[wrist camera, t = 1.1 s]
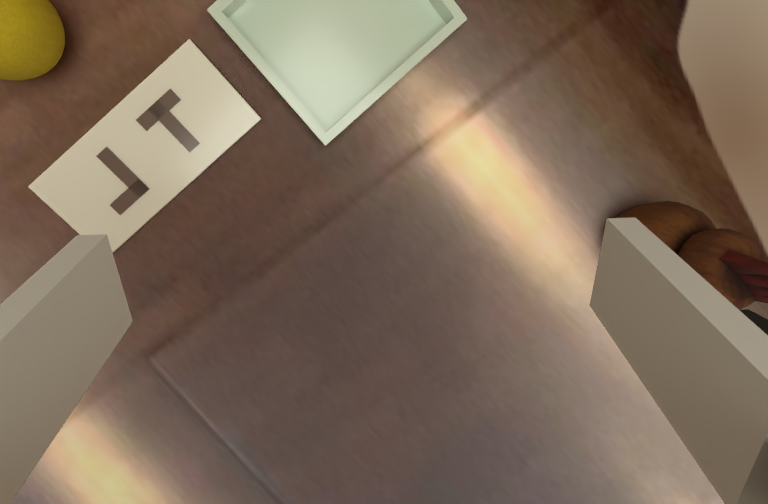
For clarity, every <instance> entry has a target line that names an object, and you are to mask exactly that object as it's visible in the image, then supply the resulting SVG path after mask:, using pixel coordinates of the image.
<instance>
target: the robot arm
mask: <svg viewBox="0 0 768 504" xmlns="http://www.w3.org/2000/svg"><path fill="white" fill-rule="evenodd" d="M590 306H591V308H592V309H593V311H594V312H595V314H596V315H597V317H598V318H599V320H600V321H601V323H602V324H603V326H604V327H605V328H606V330H607V331H608V333H609V334H610V336H611V337H612V339H613V340H614V342H615V343H616V345H617V346H618V348H619V349H620V350H621V352H622V353H623V355H624V356H625V358H626V359H627V361H628V362H629V364H630V365H631V367H632V368H633V370H634V371H635V372H636V374H637V375H638V377H639V378H640V380H641V381H642V383H643V384H644V386H645V387H646V389H647V390H648V391H649V393H650V394H651V396H652V397H653V399H654V400H655V402H656V403H657V405H658V406H659V408H660V409H661V411H662V412H663V413H664V415H665V416H666V418H667V419H668V421H669V422H670V424H671V425H672V427H673V428H674V430H675V431H676V433H677V434H678V435H679V437H680V438H681V440H682V441H683V443H684V444H685V446H686V447H687V449H688V450H689V452H690V453H691V455H692V456H693V457H694V459H695V460H696V462H697V463H698V465H699V466H700V468H701V469H702V471H703V472H704V474H705V475H706V476H707V478H708V479H709V481H710V482H711V484H712V485H713V487H714V488H715V490H716V491H717V493H718V494H719V496H720V497H721V498H722V500H723V501H724V503H725V504H768V320H767V319H765V318H764V317H762V316H760V315H758V314H756V313H754V312H752V311H750V310H739V309H737V308H736V307H735V306H734V305H733V304H732V303H731V302H730V301H728V300H727V299H726V298H725V297H724V296H723V295H722V294H721V293H719V292H718V291H717V290H716V289H715V288H714V287H713V286H712V285H711V284H709V283H708V282H707V281H706V280H705V279H704V278H703V277H702V276H700V275H699V274H698V273H697V272H696V271H695V270H694V269H693V268H691V267H690V266H689V265H688V264H687V263H686V262H685V261H684V260H682V259H681V258H680V257H679V256H678V255H677V254H676V253H675V252H674V251H672V250H671V249H670V248H669V247H668V246H667V245H666V244H665V243H663V242H662V241H661V240H660V239H659V238H658V237H657V236H656V235H654V234H653V233H652V232H651V231H650V230H649V229H648V228H647V227H646V226H644V225H643V224H642V223H641V222H640V221H639V220H638V219H637V218H635V217H633V218H607V220H606V225H605V230H604V235H603V240H602V245H601V250H600V255H599V261H598V266H597V271H596V276H595V281H594V286H593V291H592V296H591V301H590ZM132 322H133V320H132V317H131V314H130V310H129V307H128V304H127V300H126V297H125V294H124V290H123V287H122V283H121V280H120V277H119V273H118V270H117V267H116V263H115V260H114V257H113V253H112V250H111V246H110V243H109V240H108V236H107V234H101V235H77V236H76V237H75V238H74V239H72V240H71V241H70V242H69V243H68V244H67V245H66V246H65V247H64V248H62V249H61V250H60V251H59V252H58V253H57V254H56V255H55V256H54V257H52V258H51V259H50V260H49V261H48V262H47V263H46V264H45V265H44V266H42V267H41V268H40V269H39V270H38V271H37V272H36V273H35V274H33V275H32V276H31V277H30V278H29V279H28V280H27V281H26V282H25V283H23V284H22V285H21V286H20V287H19V288H18V289H17V290H16V291H15V292H13V293H12V294H11V295H10V296H9V297H8V298H7V299H6V300H5V301H3V302H2V303H1V304H0V504H10V503H11V501H12V500H13V498H14V497H15V496H16V494H17V493H18V491H19V490H20V488H21V487H22V485H23V484H24V482H25V481H26V479H27V478H28V476H29V475H30V473H31V472H32V470H33V469H34V467H35V466H36V464H37V463H38V461H39V460H40V458H41V457H42V455H43V454H44V452H45V451H46V449H47V448H48V447H49V445H50V444H51V442H52V441H53V439H54V438H55V436H56V435H57V433H58V432H59V430H60V429H61V427H62V426H63V424H64V423H65V421H66V420H67V418H68V417H69V415H70V414H71V412H72V411H73V409H74V408H75V406H76V405H77V403H78V402H79V401H80V399H81V398H82V396H83V395H84V393H85V392H86V390H87V389H88V387H89V386H90V384H91V383H92V381H93V380H94V378H95V377H96V375H97V374H98V372H99V371H100V369H101V368H102V366H103V365H104V363H105V362H106V360H107V359H108V357H109V356H110V354H111V353H112V352H113V350H114V349H115V347H116V346H117V344H118V343H119V341H120V340H121V338H122V337H123V335H124V334H125V332H126V331H127V329H128V328H129V326H130V325H131V323H132Z"/></svg>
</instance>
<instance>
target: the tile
mask: <svg viewBox="0 0 768 504" xmlns="http://www.w3.org/2000/svg"><path fill="white" fill-rule="evenodd" d="M260 120H261V118H260V116H259V115H258V114H257V113H256V112H255V111H254V110H253V109H252V108H251V106H250V105H249V104H248V103H247V102H246V101H245V100H244V99H243V97H242V96H241V95H240V94H239V93H238V92H237V91H236V90H235V89H234V87H233V86H232V85H231V84H230V83H229V82H228V81H227V80H226V79H225V77H224V76H223V75H222V74H221V73H220V72H219V71H218V70H217V68H216V67H215V66H214V65H213V64H212V63H211V62H210V61H209V60H208V58H207V57H206V56H205V55H204V54H203V53H202V52H201V51H200V50H199V48H198V47H197V46H196V45H195V44H194V43H193V42H192V41H191V40H190V39H189V40H187V41H186V42H185V43H184V44H183V45H182V46H181V47H180V48H179V49H178V50H177V51H175V52H174V53H173V54H172V55H171V56H170V57H169V58H168V59H167V60H166V61H165V62H163V63H162V64H161V65H160V66H159V67H158V68H157V69H156V70H155V71H154V72H153V73H151V74H150V75H149V76H148V77H147V78H146V79H145V80H144V81H143V82H142V83H141V84H139V85H138V86H137V87H136V88H135V89H134V90H133V91H132V92H131V93H130V94H129V95H127V96H126V97H125V98H124V99H123V100H122V101H121V102H120V103H119V104H118V105H117V106H115V107H114V108H113V109H112V110H111V111H110V112H109V113H108V114H107V115H106V116H105V117H103V118H102V119H101V120H100V121H99V122H98V123H97V124H96V125H95V126H94V127H93V128H91V129H90V130H89V131H88V132H87V133H86V134H85V135H84V136H83V137H82V138H81V139H79V140H78V141H77V142H76V143H75V144H74V145H73V146H72V147H71V148H70V149H69V150H67V151H66V152H65V153H64V154H63V155H62V156H61V157H60V158H59V159H58V160H57V161H55V162H54V163H53V164H52V165H51V166H50V167H49V168H48V169H47V170H46V171H44V172H43V173H42V174H41V175H40V176H39V177H38V178H37V179H36V180H35V181H34V182H32V183H31V184H30V185H29V186H28V187H29V188H30V189H31V190H32V191H33V192H34V193H35V194H37V195H38V196H39V197H40V198H41V199H42V200H43V201H44V202H45V203H46V204H47V205H48V206H50V207H51V208H52V209H53V210H54V211H55V212H56V213H57V214H58V215H59V216H60V217H61V218H63V219H64V220H65V221H66V222H67V223H68V224H69V225H70V226H71V227H72V228H73V229H74V230H76V231H77V232H78V233H79V234H80V235H101V234H107V236H108V240H109V243H110V246H111V250H112V253H114V252H115V251H116V250H117V249H118V248H119V247H120V246H122V245H123V244H124V243H125V242H126V241H127V240H128V239H129V238H130V237H132V236H133V235H134V234H135V233H136V232H137V231H138V230H139V229H140V228H142V227H143V226H144V225H145V224H146V223H147V222H148V221H149V220H150V219H152V218H153V217H154V216H155V215H156V214H157V213H158V212H159V211H160V210H161V209H163V208H164V207H165V206H166V205H167V204H168V203H169V202H170V201H171V200H173V199H174V198H175V197H176V196H177V195H178V194H179V193H180V192H181V191H183V190H184V189H185V188H186V187H187V186H188V185H189V184H190V183H191V182H193V181H194V180H195V179H196V178H197V177H198V176H199V175H200V174H201V173H203V172H204V171H205V170H206V169H207V168H208V167H209V166H210V165H211V164H213V163H214V162H215V161H216V160H217V159H218V158H219V157H220V156H221V155H223V154H224V153H225V152H226V151H227V150H228V149H229V148H230V147H231V146H232V145H234V144H235V143H236V142H237V141H238V140H239V139H240V138H241V137H242V136H244V135H245V134H246V133H247V132H248V131H249V130H250V129H251V128H252V127H254V126H255V125H256V124H257V123H258V122H259V121H260Z"/></svg>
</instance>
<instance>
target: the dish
mask: <svg viewBox="0 0 768 504" xmlns="http://www.w3.org/2000/svg"><path fill="white" fill-rule="evenodd" d="M207 11H208V12H209V13H210V14H211V16H212V17H213V18H214V19H215V21H216V22H217V23H218V24H219V25H220V26H221V27H222V29H223V30H224V31H225V32H226V33H227V34H228V35H229V37H230V38H231V39H232V40H233V41H234V42H235V43H236V45H237V46H238V47H239V48H240V49H241V50H242V51H243V53H244V54H245V55H246V56H247V57H248V58H249V59H250V61H251V62H252V63H253V64H254V65H255V66H256V68H257V69H258V70H259V71H260V72H261V73H262V74H263V76H264V77H265V78H266V79H267V80H268V81H269V82H270V84H271V85H272V86H273V87H274V88H275V89H276V90H277V92H278V93H279V94H280V95H281V96H282V97H283V98H284V100H285V101H286V102H287V103H288V104H289V105H290V106H291V108H292V109H293V110H294V111H295V112H296V113H297V114H298V116H299V117H300V118H301V119H302V120H303V121H304V122H305V124H306V125H307V126H308V127H309V128H310V129H311V130H312V132H313V133H314V134H315V135H316V136H317V137H318V139H319V140H320V141H321V142H322V143H323V144H324V145H325V146H326V145H327V144H328V143H329V142H330V141H331V140H332V139H334V138H335V137H336V136H337V135H338V134H339V133H340V132H341V131H343V130H344V129H345V128H346V127H347V126H348V125H349V124H350V123H352V122H353V121H354V120H355V119H356V118H357V117H358V116H359V115H360V114H362V113H363V112H364V111H365V110H366V109H367V108H368V107H369V106H371V105H372V104H373V103H374V102H375V101H376V100H377V99H378V98H379V97H381V96H382V95H383V94H384V93H385V92H386V91H387V90H388V89H390V88H391V87H392V86H393V85H394V84H395V83H396V82H397V81H399V80H400V79H401V78H402V77H403V76H404V75H405V74H406V73H407V72H409V71H410V70H411V69H412V68H413V67H414V66H415V65H416V64H418V63H419V62H420V61H421V60H422V59H423V58H424V57H425V56H427V55H428V54H429V53H430V52H431V51H432V50H433V49H434V48H435V47H437V46H438V45H439V44H440V43H441V42H442V41H443V40H444V39H446V38H447V37H448V36H449V35H450V34H451V33H452V32H453V31H455V30H456V29H457V28H458V27H459V26H460V25H461V24H462V23H463V22H465V21H466V20H467V18H466V16H465V15H464V14H463V12H462V11H461V9H460V8H459V7H458V5H457V4H456V3H455V1H454V0H217V1H216V2H215V3H213V4H212V5H211V6H210V7H209V8H208V9H207Z"/></svg>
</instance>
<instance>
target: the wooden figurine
mask: <svg viewBox="0 0 768 504" xmlns="http://www.w3.org/2000/svg"><path fill="white" fill-rule="evenodd" d="M633 217H635V218H637V219H638V220H639V221H640V222H641V223H642V224H643V225H644V226H646V227H647V228H648V229H649V230H650V231H651V232H652V233H653V234H654V235H656V236H657V237H658V238H659V239H660V240H661V241H662V242H663V243H665V244H666V245H667V246H668V247H669V248H670V249H671V250H672V251H674V252H675V253H676V254H677V255H678V256H679V257H680V258H681V259H682V260H684V261H685V262H686V263H687V264H688V265H689V266H690V267H691V268H693V269H694V270H695V271H696V272H697V273H698V274H699V275H700V276H702V277H703V278H704V279H705V280H706V281H707V282H708V283H709V284H711V285H712V286H713V287H714V288H715V289H716V290H717V291H718V292H719V293H721V294H722V295H723V296H724V297H725V298H726V299H727V300H728V301H730V302H731V303H732V304H733V305H734V306H735V307H736V308H737V309H739V310H741V309H743V308H745V307H747V306H748V305H750V304H752V303H753V302H754V301H759V302H764V303H768V259H767V257H766V255H765V253H764V251H763V249H762V248H761V247H760V246H759V245H758V244H757V243H756V242H755V241H754V240H752V239H751V238H750V237H748V236H746V235H743V234H741V233H739V232H736V231H733V230H730V229H722V228H720V229H717V228H716V227H715V226H714V224H713V223H712V221H711V220H710V219H709V218H708V217H707V216H706V215H705V214H704V213H703V212H701V211H699V210H697V209H694V208H692V207H690V206H687V205H684V204H681V203H677V202H670V201H665V202H656V203H651V204H647V205H642V206H637V207H634V208H632V209H630V210H628V211H625V212H623V213H622V214H620V215H619V216H618V217H617V218H633Z"/></svg>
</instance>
